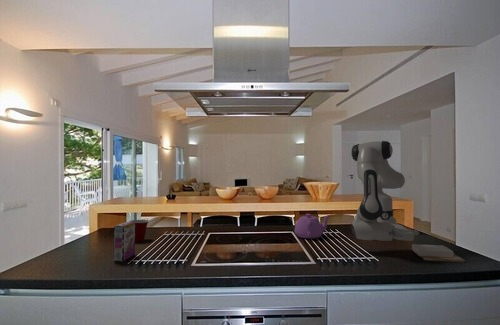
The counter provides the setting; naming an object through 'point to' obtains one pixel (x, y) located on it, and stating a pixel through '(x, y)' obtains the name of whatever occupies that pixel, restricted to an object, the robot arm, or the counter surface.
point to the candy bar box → (124, 241)
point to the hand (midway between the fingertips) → (418, 232)
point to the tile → (432, 251)
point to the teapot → (310, 227)
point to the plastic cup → (140, 229)
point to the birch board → (444, 259)
